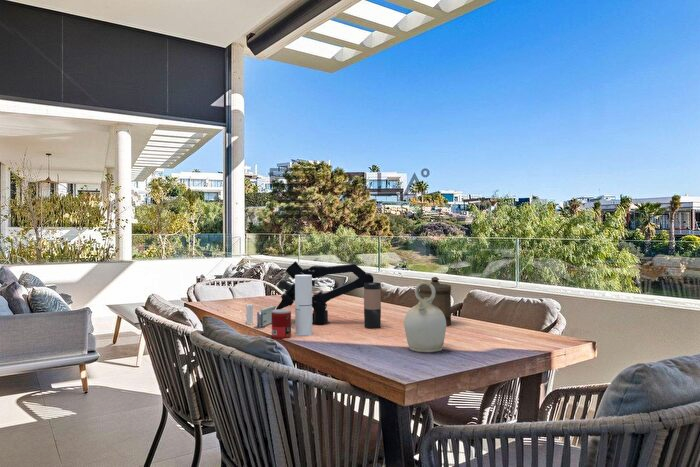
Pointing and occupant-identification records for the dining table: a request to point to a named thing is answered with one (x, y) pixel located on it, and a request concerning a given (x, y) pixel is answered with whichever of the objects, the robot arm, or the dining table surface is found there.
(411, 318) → the jug
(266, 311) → the gate
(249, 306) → the latch post
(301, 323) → the cylindrical container
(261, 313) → the hinge post
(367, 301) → the travel mug
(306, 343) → the dining table surface
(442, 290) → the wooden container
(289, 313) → the canned food
